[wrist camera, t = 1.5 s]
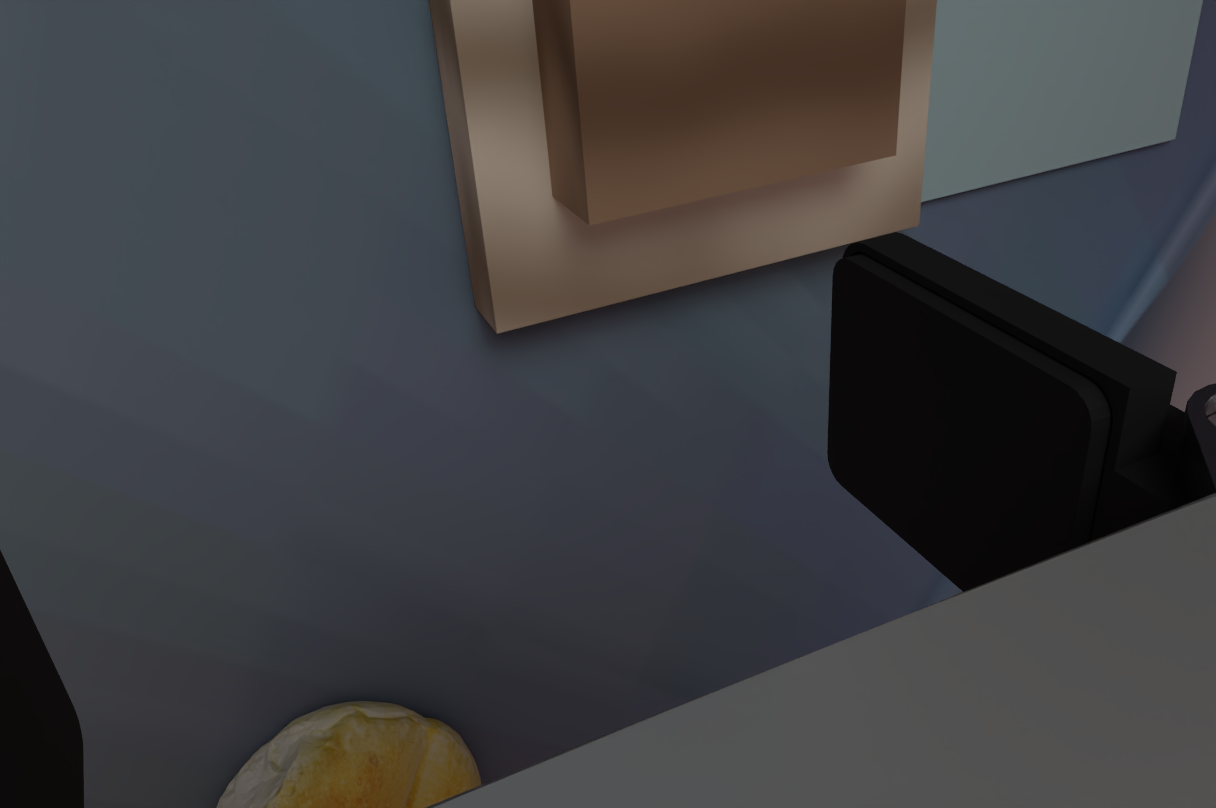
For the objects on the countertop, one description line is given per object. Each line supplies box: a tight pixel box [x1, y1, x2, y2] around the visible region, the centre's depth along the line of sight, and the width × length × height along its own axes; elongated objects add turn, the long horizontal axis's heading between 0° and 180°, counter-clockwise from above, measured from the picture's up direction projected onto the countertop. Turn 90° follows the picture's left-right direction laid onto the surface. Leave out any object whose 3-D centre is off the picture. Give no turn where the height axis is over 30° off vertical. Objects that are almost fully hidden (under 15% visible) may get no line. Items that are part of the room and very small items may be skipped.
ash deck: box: [429, 0, 937, 334], centre depth 29 cm, size 14×14×2 cm
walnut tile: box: [532, 0, 906, 226], centre depth 27 cm, size 7×9×2 cm
